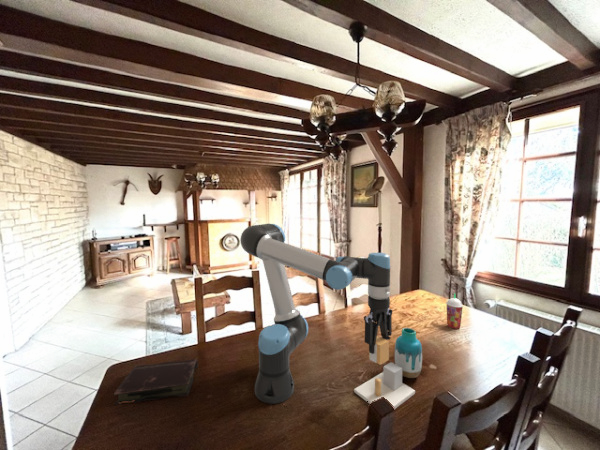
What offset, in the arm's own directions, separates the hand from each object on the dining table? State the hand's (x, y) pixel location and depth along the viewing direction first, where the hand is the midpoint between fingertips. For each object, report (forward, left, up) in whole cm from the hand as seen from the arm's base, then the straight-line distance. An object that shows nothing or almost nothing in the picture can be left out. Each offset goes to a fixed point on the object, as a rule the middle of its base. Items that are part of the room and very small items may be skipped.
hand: (378, 358), depth 95 cm
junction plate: (+4, 0, -15) cm, 16 cm away
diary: (-65, +55, -16) cm, 86 cm away
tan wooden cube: (0, 0, 0) cm, 0 cm away
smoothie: (+83, +10, -15) cm, 85 cm away
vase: (+21, +1, -15) cm, 26 cm away
